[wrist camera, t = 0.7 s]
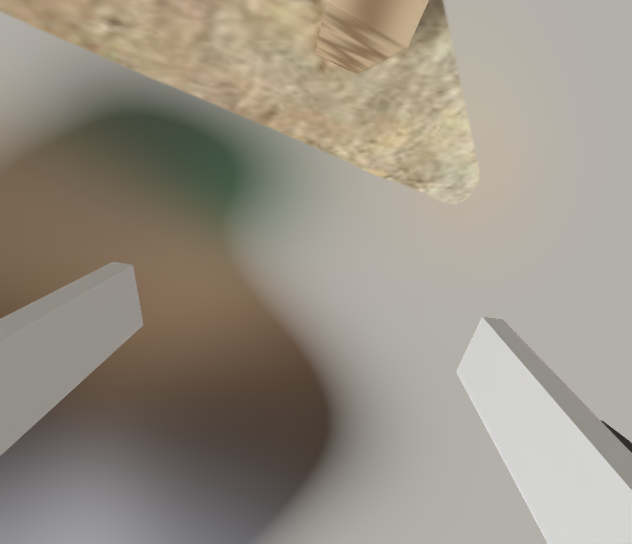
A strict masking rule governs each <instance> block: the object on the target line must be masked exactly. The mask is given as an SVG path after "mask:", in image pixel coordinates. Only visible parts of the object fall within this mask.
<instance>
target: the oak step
mask: <svg viewBox="0 0 632 544" xmlns="http://www.w3.org/2000/svg"><path fill="white" fill-rule="evenodd" d="M428 1H429V0H326V3H325V8H324V13H323V18H322V23H321V28H320V33H319V38H318V43H317V48H316V53H315V54H317V55H319V56H321V57H323V58H325V59H327V60H329V61H331V62H333V63H335V64H337V65H339V66H341V67H343V68H345V69H347V70H349V71H351V72H353V73H355V74H358V73H360V72H362V71H364V70H366V69H368V68H370V67H372V66H373V65H375V64H377V63H379V62H381V61H383V60H385V59H387V58H389V57H391V56H393V55H394V54H396V53H398V52H400V51H402V50H404V49H406V48H408V46H409V44H410V42H411V39H412V37H413V35H414V33H415V30H416V28H417V26H418V24H419V21H420V19H421V17H422V15H423V12H424V10H425V8H426V6H427V4H428Z"/></svg>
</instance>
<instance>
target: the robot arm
mask: <svg viewBox="0 0 632 544" xmlns="http://www.w3.org/2000/svg"><path fill="white" fill-rule="evenodd" d="M142 326H143V321H142V314H141V309H140V303H139V297H138V292H137V286H136V281H135V275H134V269H133V265H130V264H124V263H117V262H111V263H110V264H108V265H106V266H104V267H102V268H100V269H98V270H96V271H94V272H92V273H90V274H88V275H86V276H84V277H82V278H80V279H78V280H76V281H74V282H72V283H70V284H68V285H66V286H65V287H62V288H60V289H58V290H56V291H54V292H53V293H51V294H49V295H47V296H45V297H43V298H41V299H39V300H37V301H35V302H33V303H31V304H29V305H27V306H25V307H23V308H21V309H19V310H17V311H15V312H13V313H11V314H10V315H8V316H5V317H3V318H1V319H0V456H1V455H2V454H3V453H4V452H5V451H6V450H7V449H8V448H9V447H10V446H11V445H13V444H14V443H15V442H16V441H17V440H18V439H19V438H20V437H21V436H22V435H23V434H25V432H27V431H28V430H29V429H30V428H31V427H32V426H33V425H34V424H36V423H37V422H38V421H39V420H40V419H41V418H42V417H43V416H44V415H45V414H46V413H47V412H49V411H50V410H51V409H52V408H53V407H54V406H55V405H56V404H57V403H58V402H60V401H61V400H62V399H63V398H64V397H65V396H66V395H67V394H68V393H69V392H71V391H72V390H73V389H74V388H75V387H76V386H77V385H78V384H79V383H80V382H81V381H82V380H84V379H85V378H86V377H87V376H88V375H89V374H90V373H91V372H92V371H93V370H95V369H96V368H97V367H98V366H99V365H100V364H101V363H102V362H103V361H104V360H106V358H108V357H109V356H110V355H111V354H112V353H113V352H114V351H115V350H116V349H118V348H119V346H121V345H122V344H123V343H124V342H125V341H126V340H127V339H128V338H129V337H131V336H132V335H133V334H134V333H135V332H136V331H137V330H138V329H139V328H140V327H142ZM456 372H457V374H458V376H459V378H460V380H461V382H462V384H463V386H464V387H465V389H466V391H467V393H468V395H469V397H470V399H471V400H472V402H473V404H474V406H475V408H476V410H477V412H478V413H479V416H480V417H481V419H482V421H483V423H484V425H485V427H486V429H487V431H488V432H489V434H490V436H491V438H492V440H493V442H494V444H495V445H496V447H497V449H498V451H499V453H500V455H501V457H502V459H503V461H504V463H505V464H506V466H507V468H508V470H509V472H510V474H511V476H512V477H513V479H514V481H515V483H516V485H517V487H518V489H519V491H520V493H521V494H522V496H523V498H524V500H525V502H526V504H527V506H528V507H529V509H530V511H531V513H532V515H533V517H534V519H535V521H536V523H537V524H538V526H539V528H540V530H541V532H542V534H543V536H544V537H545V540H546V541H547V543H548V544H632V443H631V442H630V441H629V440H627V439H626V438H625V437H623V436H622V435H621V434H619V433H618V432H617V431H615V430H614V429H613V428H611V427H610V426H609V425H607V424H606V423H605V422H603V421H600V420H599V419H598V418H597V417H596V416H595V415H594V414H593V412H592V411H591V410H589V408H588V407H587V406H586V405H585V404H584V403H583V402H582V401H581V400H580V399H579V398H578V397H577V396H576V395H575V394H574V393H573V392H572V391H571V390H570V389H569V388H568V387H567V386H566V384H565V383H564V382H563V381H562V380H561V379H560V378H559V377H558V376H557V375H556V374H555V373H554V372H553V371H552V370H551V369H550V368H549V367H548V366H547V365H546V364H545V363H544V362H543V361H542V360H541V359H540V358H539V357H538V356H537V355H536V353H534V351H533V350H532V349H531V348H530V347H529V346H528V345H527V344H526V343H525V342H524V341H523V340H522V339H521V338H520V337H519V336H518V335H517V334H516V333H515V332H514V331H513V330H512V329H511V328H510V327H509V326H508V324H507V323H506V322H505V321H504V320H501V319H495V318H488V317H482V318H481V321H480V323H479V325H478V327H477V329H476V331H475V333H474V335H473V337H472V339H471V342H470V344H469V346H468V348H467V350H466V352H465V354H464V357H463V359H462V361H461V363H460V365H459V367H458V369H457V371H456Z"/></svg>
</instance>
